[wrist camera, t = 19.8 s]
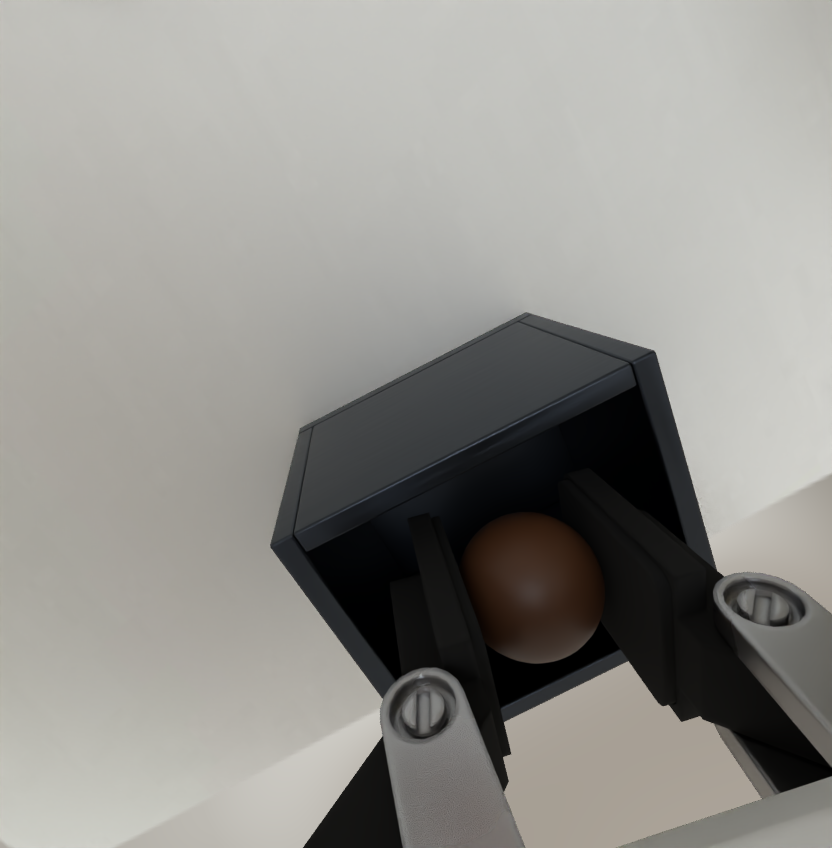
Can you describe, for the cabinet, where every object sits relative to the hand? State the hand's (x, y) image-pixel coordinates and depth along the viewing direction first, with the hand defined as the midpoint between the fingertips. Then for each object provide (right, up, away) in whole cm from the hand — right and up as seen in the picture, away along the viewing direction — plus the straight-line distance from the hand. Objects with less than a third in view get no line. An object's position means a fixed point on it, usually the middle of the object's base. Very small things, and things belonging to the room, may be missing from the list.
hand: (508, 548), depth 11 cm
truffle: (0, 0, -1) cm, 1 cm away
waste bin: (-1, +2, +5) cm, 5 cm away
